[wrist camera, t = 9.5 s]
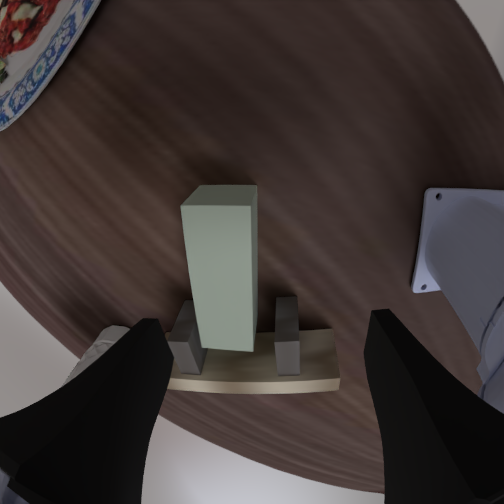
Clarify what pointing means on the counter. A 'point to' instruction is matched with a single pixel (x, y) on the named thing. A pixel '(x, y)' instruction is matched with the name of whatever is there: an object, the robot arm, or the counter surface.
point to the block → (223, 263)
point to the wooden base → (255, 358)
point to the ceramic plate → (35, 47)
